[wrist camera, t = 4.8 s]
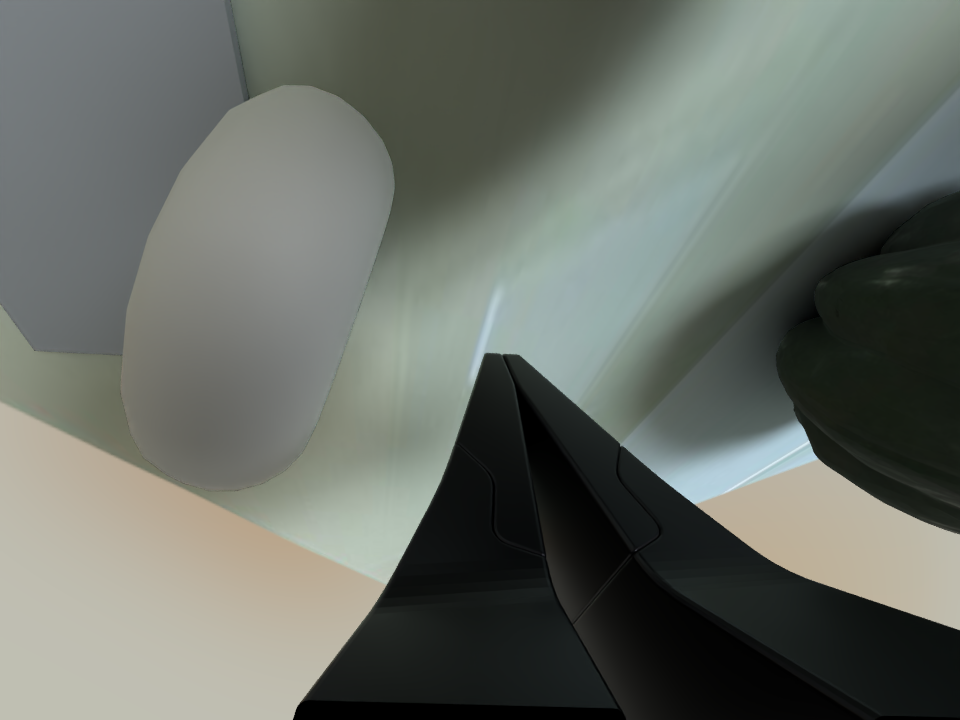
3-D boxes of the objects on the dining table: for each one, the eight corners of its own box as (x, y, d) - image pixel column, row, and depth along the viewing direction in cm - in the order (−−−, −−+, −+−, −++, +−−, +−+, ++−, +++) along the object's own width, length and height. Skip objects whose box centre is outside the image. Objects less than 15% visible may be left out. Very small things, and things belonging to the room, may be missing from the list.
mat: (210, -105, 8) (201, -113, 8) (297, 359, 17) (295, 364, 16) (-384, -262, 7) (-425, -281, 6) (42, 345, 15) (34, 350, 15)
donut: (340, 349, 17) (259, 582, 9) (260, 323, 15) (80, 568, 8) (423, 124, 12) (406, 197, 4) (314, 59, 10) (-46, -32, 3)
